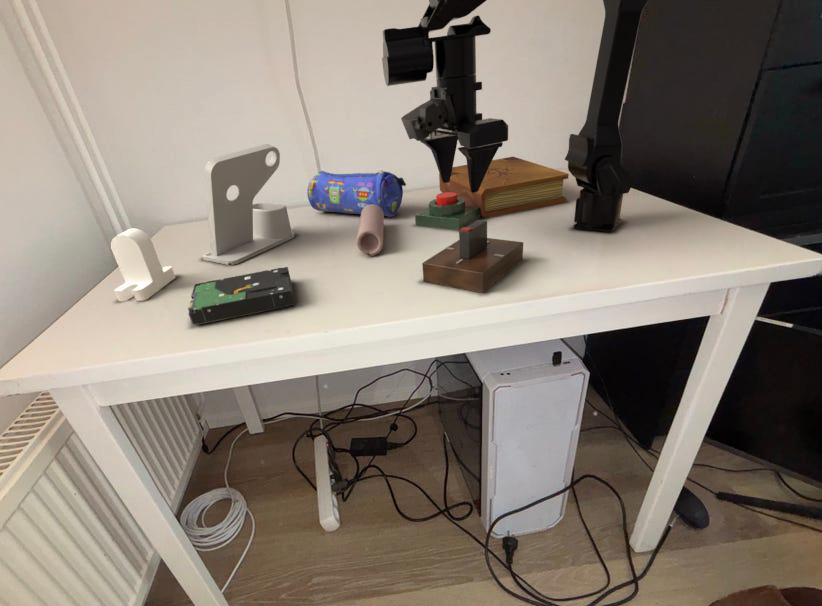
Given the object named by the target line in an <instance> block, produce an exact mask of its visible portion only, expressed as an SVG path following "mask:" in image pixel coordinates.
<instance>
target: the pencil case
mask: <svg viewBox="0 0 822 606" xmlns="http://www.w3.org/2000/svg"><path fill="white" fill-rule="evenodd" d="M406 185H407V183H406V182H405V180H404V178H403V177H398V176H397V175H396V174H394V173H391V172H390V171H386V170H385V171H384V170H383V169H380V170H378V171H376V172H374V173H373V172H365V173H363V172H356V173H355V172H354V173H332V172H331V173H330V172H328V171H324V170H320V171H318V172H317V173H316V174H315V175H314V176H313V177H312V178H311V179H310V180H309V182H308V185H307V189H306V191H307V192H306V195H307V199H308V202H309V204H310V206H311V207H312V209H314V210H315V211H318V212H326V213H327V212H328V213H340V214H351V215H354V214H355V215H361V212H362V210H363V208H364V207H365V206H367V205H370V204H374V205H377V206H379V207H380V208H381V209H382V211H383V213H384V217H385V216H386V217H389V218H393V217H395V216H396V214H397V213H398V211H399V209H400V207H401V204H402V201H403V195H404V189H403V187H406Z"/></svg>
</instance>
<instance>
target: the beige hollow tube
mask: <svg viewBox="0 0 822 606" xmlns="http://www.w3.org/2000/svg"><path fill="white" fill-rule="evenodd" d="M384 223H385V216H384V213H383V211H382V209H381V208H380V207H379V206H377V205H374V204H370V205H367V206H365V207H364V208H363V210H362V212H361V214H360V217H359V223H358V229H357V234H356V235H357V236H356V246H357V248H358V250H359V251H360V252H361V253H363V254H366V255H369V256H370V257H374V256H376V255H378V254H379V253H380V252H381V251H382V249H383V246H384V231H385V229H384V226H385V224H384Z"/></svg>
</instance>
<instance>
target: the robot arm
mask: <svg viewBox="0 0 822 606" xmlns="http://www.w3.org/2000/svg"><path fill="white" fill-rule="evenodd" d="M486 1H487V0H428V3H429V4H428V5H427V7H426V10H425V11H424V13H423V15H422V18H420V22H419V24H418V25H417V26H412V27H404V28H395V27H393V28H392V27H391V28H385V29H383V30H382V55H383V56H382V57H381V63H382V64H381V65H382V70H383V71H382V72H383V77H384V81H385V85H386V87H390V86H391V87H392V86H398V85H405V84H413V83H419V82H425V81H427V78H428V77H427V76H428V74H431V73H432V72H433V71H434V65H435V78H436V82H435V83H436V86H431V89H430V90H429V100H427V101H426V102H424V103H422V104H420V105H418V106H416V107H415V108H414V109H412V110H411V111H409V112H407V113H406V114H404V115H403V116H402V117H400V120H401V123H402V125H403V127H404V129H405V132H406V135H407V138H408V139H409V140H412V139H413V140H415V141H417V142H420V143H421V144H423V145H424V146H426V147H427V148H428V149H429V150H430V151H431V153H432V155H433V159H434V161H435V164H436V167H437V169H438V172H439V173H440V176H441V179H442V182H443V183H448V182H449V181H450V177H451V173H452V168H453V167H454V163H455V162H454V161H455V156H456V152H457V151H456V150H458V152H460V153H461V154H462V155H463V156H464V157H465V159H466V165H467V168H468V176H469V184H470V190H471V192H472V193H474V192H478V190H479V188H480V186H481V183H482V181H483V179H484V177H485V174H486V172H487V170H488V168H489V166H490V163H491V161H492V160H494V158H495V156H496V154H497V152H498V150H499V148H501V147H503V145H504V143H503V142H508V141H509V124H508V123H506V121H505V120H504V119H501V118H491V117H489V118H484V119H483V112H478V111H477V91H482V90H483V81H477V59H476V57H477V56H476V55H477V53H476V52H477V51H476V47H477V45H476V37H480V36H486V35H490V34H491V31H492V30H491V28H490V27H489V26H488V25H487V24H486V23H485V22H484V21H483V20H482V19H481V17H480V15H474V16H472V18H471V19H470V21H469V22H468V23H462V24H460V23H459V24H454V25H453V24H452V25H449V23H451V22H453V21H455V20H458V19H462V18H465V17H467V16H469V15H470V14H471V13H472V12H473V11H475V10H477V8H479V7H480V6H482V5H483V4H484V3H485V2H486ZM602 2H603V7H604V21H603V26H602V31H601V37H600V43H599V47H598V48H599V49H598V52H597V53H598V54H597V60H596V64H595V69H594V75H593V82H592V87H591V92H590V97H589V103H588V108H587V114H586V120H585V122H584V123H583V126H582V128H581V129H580V131H579V133H578V134H576V133H575V134H574V133H571V134H569V138H568V150H567V154H566V155H565V158H564V161H567V168H568V169H567V170H568V171H569V173H570V174H571V175H572V177H574V178H575V182H576V186H578V187H580V188H581V189H580V190H579V197H578V198H576V199H575V207H574V218H573V222H574V224H573V226H572V229H574V230H583V231H594V232H604V233H612V232H613V231H614V230H616V228H617V227H619V225H620V224H621V223H622V222H623V218H621V214H622V213H621V212H622V211H621V210H622V206H623V205H622V204H623V198H624V194H628V193H629V192H630V190H631V188H632V187H633V184H634V183H635V178H633V176H631V174H630V173H629V172H628V171H627V169H625V168H624V167H623V166H622V157H623V142H622V136H621V132H620V127H619V122H620V117H621V112H622V109H623V102H624V98H625V94H626V88H627V84H628V79H629V74H630V69H631V65H632V61H633V56H634V53H635V52H634V51H635V47H636V42H637V38H638V34H639V33H638V32H639V27H640V23H641V19H642V14H643V11H644V10H645V7H646V6H647V4H648V3H649V0H602ZM448 25H449V27H448V29H447V32H446V35H442V36H434V37H430V33H433V32H436V31H440V30H443V29H444V28H446V27H447V26H448ZM433 43H434V47H433ZM434 63H435V64H434ZM458 143H459V145H460V147H457V146H458ZM439 173H438V174H439Z"/></svg>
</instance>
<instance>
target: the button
mask: <svg viewBox="0 0 822 606" xmlns="http://www.w3.org/2000/svg"><path fill="white" fill-rule="evenodd" d="M435 199H436V201H437V205H451V204H455V203H457V193H454V192H445V193H442V192H440V193H437V194H436V196H435Z"/></svg>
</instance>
